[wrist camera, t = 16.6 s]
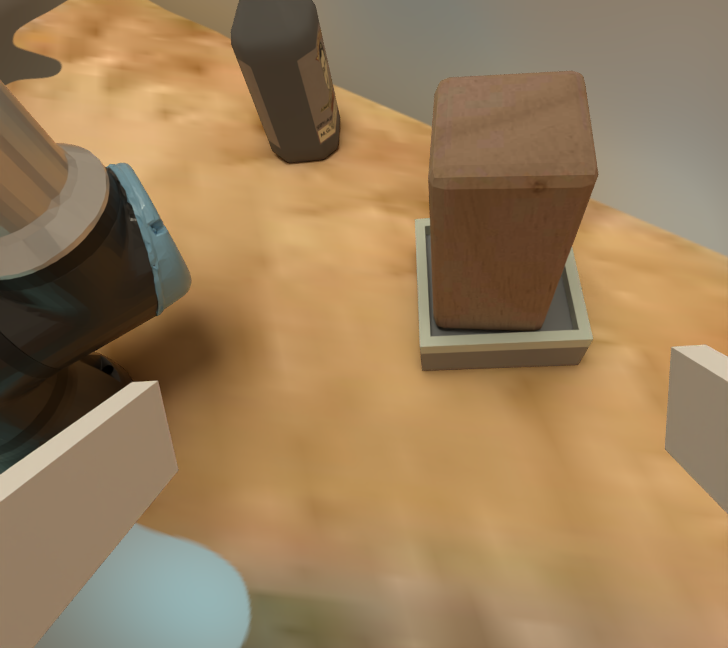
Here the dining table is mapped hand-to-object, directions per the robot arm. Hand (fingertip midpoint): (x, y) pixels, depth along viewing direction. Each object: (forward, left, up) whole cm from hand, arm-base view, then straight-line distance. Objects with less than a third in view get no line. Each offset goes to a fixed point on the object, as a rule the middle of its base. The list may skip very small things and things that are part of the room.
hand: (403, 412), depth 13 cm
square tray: (+7, +23, -34) cm, 41 cm away
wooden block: (+6, +22, -30) cm, 38 cm away
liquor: (-15, +51, -34) cm, 63 cm away
